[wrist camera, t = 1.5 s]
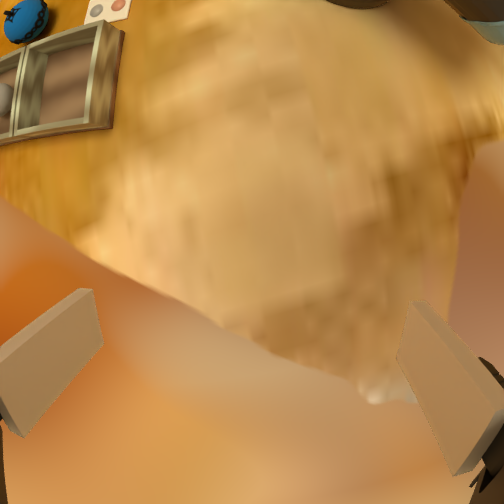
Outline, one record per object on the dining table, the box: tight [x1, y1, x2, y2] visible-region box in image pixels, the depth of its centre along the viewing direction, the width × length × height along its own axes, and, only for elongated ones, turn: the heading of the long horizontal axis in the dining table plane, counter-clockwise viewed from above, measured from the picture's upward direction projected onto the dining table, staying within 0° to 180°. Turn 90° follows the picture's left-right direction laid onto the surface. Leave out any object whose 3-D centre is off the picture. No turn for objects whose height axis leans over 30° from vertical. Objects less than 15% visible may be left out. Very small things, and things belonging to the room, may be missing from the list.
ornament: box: [4, 0, 49, 44], centre depth 27 cm, size 9×9×10 cm
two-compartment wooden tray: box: [0, 19, 125, 146], centre depth 33 cm, size 15×30×6 cm, turn 87°
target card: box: [84, 0, 132, 25], centre depth 31 cm, size 6×8×1 cm
